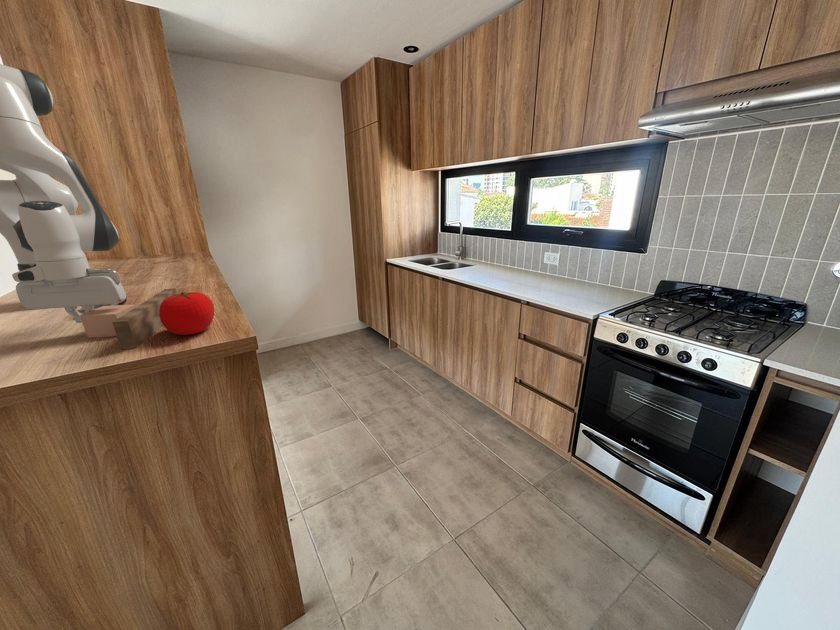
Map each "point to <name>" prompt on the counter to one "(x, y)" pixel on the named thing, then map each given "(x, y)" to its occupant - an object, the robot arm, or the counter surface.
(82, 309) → the packaged food
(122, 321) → the walnut board
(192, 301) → the tomato
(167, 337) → the counter surface
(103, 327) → the terracotta block
